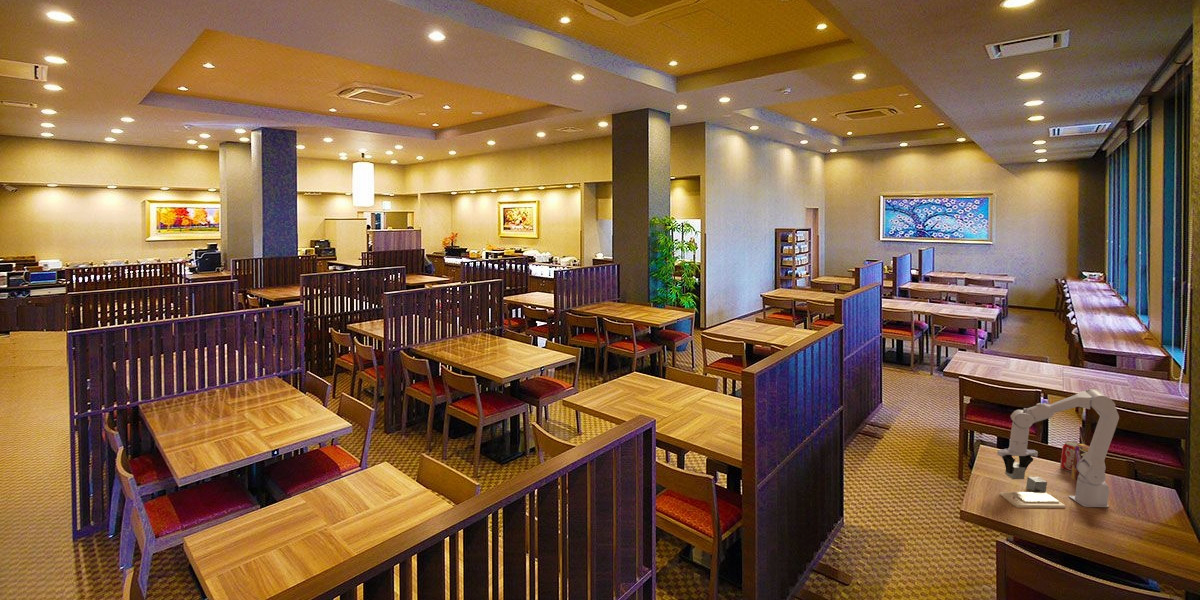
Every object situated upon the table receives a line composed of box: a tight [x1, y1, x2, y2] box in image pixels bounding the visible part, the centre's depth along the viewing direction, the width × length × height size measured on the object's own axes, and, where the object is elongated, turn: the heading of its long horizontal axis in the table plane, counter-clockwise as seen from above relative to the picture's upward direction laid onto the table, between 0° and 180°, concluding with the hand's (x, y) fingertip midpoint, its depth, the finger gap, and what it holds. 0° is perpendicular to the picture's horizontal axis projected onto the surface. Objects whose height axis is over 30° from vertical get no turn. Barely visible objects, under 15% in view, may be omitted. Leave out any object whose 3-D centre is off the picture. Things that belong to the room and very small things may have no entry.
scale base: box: [999, 491, 1066, 509], centre depth 228 cm, size 18×10×1 cm, turn 89°
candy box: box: [1070, 443, 1090, 482], centre depth 242 cm, size 9×4×15 cm, turn 12°
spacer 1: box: [1004, 461, 1026, 480], centre depth 235 cm, size 4×4×5 cm
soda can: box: [1060, 440, 1080, 473], centre depth 254 cm, size 7×7×12 cm
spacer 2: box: [1025, 476, 1048, 493], centre depth 236 cm, size 4×4×5 cm
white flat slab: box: [1011, 491, 1060, 503], centre depth 229 cm, size 13×7×1 cm, turn 89°
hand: (1015, 472), depth 235 cm, fingers closed on spacer 1, 4 cm apart
